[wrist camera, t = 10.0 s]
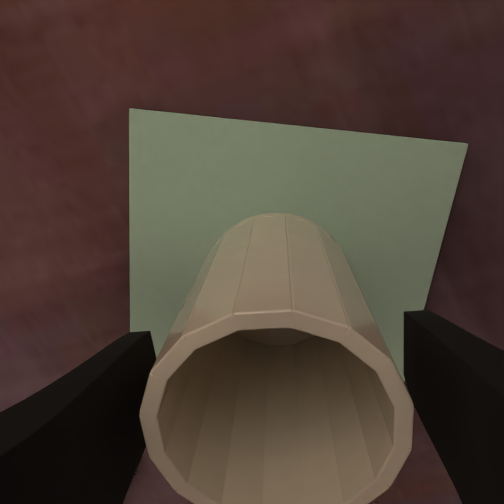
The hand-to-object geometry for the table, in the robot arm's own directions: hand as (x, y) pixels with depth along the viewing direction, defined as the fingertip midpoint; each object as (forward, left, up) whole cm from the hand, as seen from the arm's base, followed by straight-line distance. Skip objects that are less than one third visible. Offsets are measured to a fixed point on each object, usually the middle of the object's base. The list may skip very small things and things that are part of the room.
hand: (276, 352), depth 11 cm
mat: (0, 0, -5) cm, 5 cm away
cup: (0, 0, -5) cm, 5 cm away
